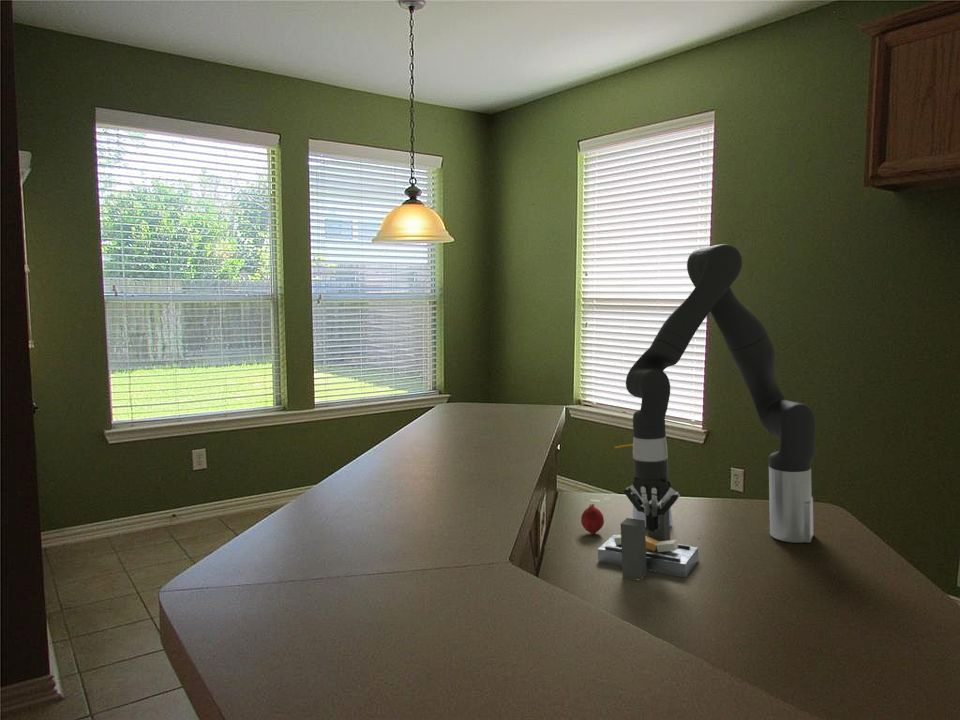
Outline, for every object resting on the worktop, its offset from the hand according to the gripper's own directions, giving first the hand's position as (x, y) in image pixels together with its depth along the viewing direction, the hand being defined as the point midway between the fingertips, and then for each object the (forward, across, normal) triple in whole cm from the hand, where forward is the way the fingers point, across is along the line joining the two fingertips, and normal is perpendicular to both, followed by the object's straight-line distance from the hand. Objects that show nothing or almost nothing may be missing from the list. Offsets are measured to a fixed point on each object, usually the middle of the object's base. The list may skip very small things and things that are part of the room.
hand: (653, 530), depth 146 cm
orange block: (+4, +2, 0) cm, 5 cm away
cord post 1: (+7, +2, +9) cm, 12 cm away
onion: (+8, +20, -10) cm, 23 cm away
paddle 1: (+4, +6, 0) cm, 8 cm away
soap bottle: (+8, +11, -23) cm, 27 cm away
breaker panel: (+7, +2, 0) cm, 8 cm away
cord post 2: (+7, +2, -8) cm, 11 cm away
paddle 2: (+4, -4, 0) cm, 6 cm away
